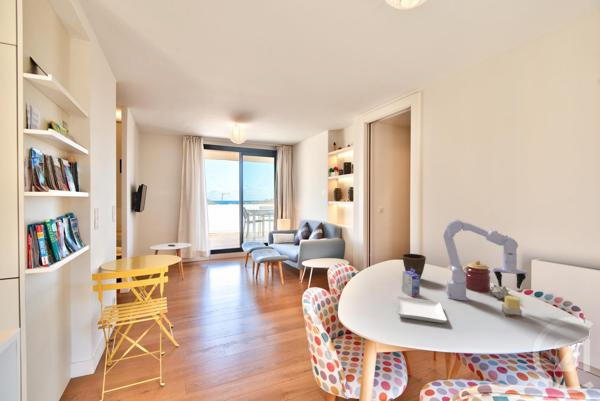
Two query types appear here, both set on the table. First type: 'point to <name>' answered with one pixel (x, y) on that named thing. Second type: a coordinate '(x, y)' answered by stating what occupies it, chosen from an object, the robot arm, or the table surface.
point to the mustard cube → (512, 302)
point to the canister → (477, 277)
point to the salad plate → (420, 309)
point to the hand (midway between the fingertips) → (509, 287)
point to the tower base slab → (511, 315)
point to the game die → (499, 291)
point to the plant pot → (414, 263)
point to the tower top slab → (511, 310)
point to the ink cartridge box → (411, 283)
